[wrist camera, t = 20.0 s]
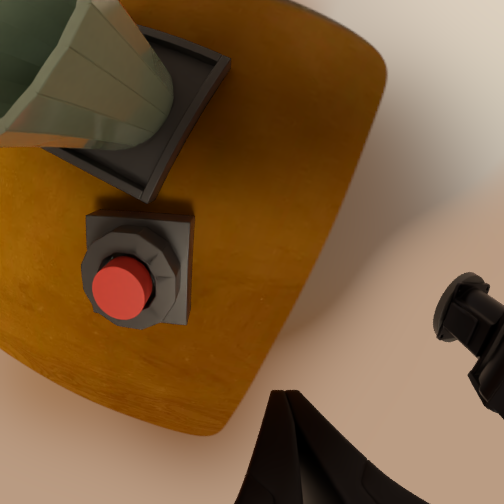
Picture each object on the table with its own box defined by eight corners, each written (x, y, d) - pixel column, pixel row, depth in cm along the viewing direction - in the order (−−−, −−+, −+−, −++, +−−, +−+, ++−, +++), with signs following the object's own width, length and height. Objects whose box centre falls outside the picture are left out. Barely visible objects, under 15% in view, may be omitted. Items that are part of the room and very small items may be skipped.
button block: (195, 215, 18) (185, 229, 14) (190, 309, 20) (183, 341, 16) (99, 209, 17) (71, 220, 13) (104, 298, 19) (83, 325, 15)
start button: (152, 258, 15) (143, 269, 13) (153, 308, 16) (146, 323, 14) (102, 253, 14) (89, 263, 13) (106, 302, 15) (95, 315, 14)
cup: (196, 84, 15) (145, -32, 3) (132, 169, 16) (-5, 189, 5) (122, 42, 13) (31, -47, 2) (65, 121, 14) (-67, 106, 3)
